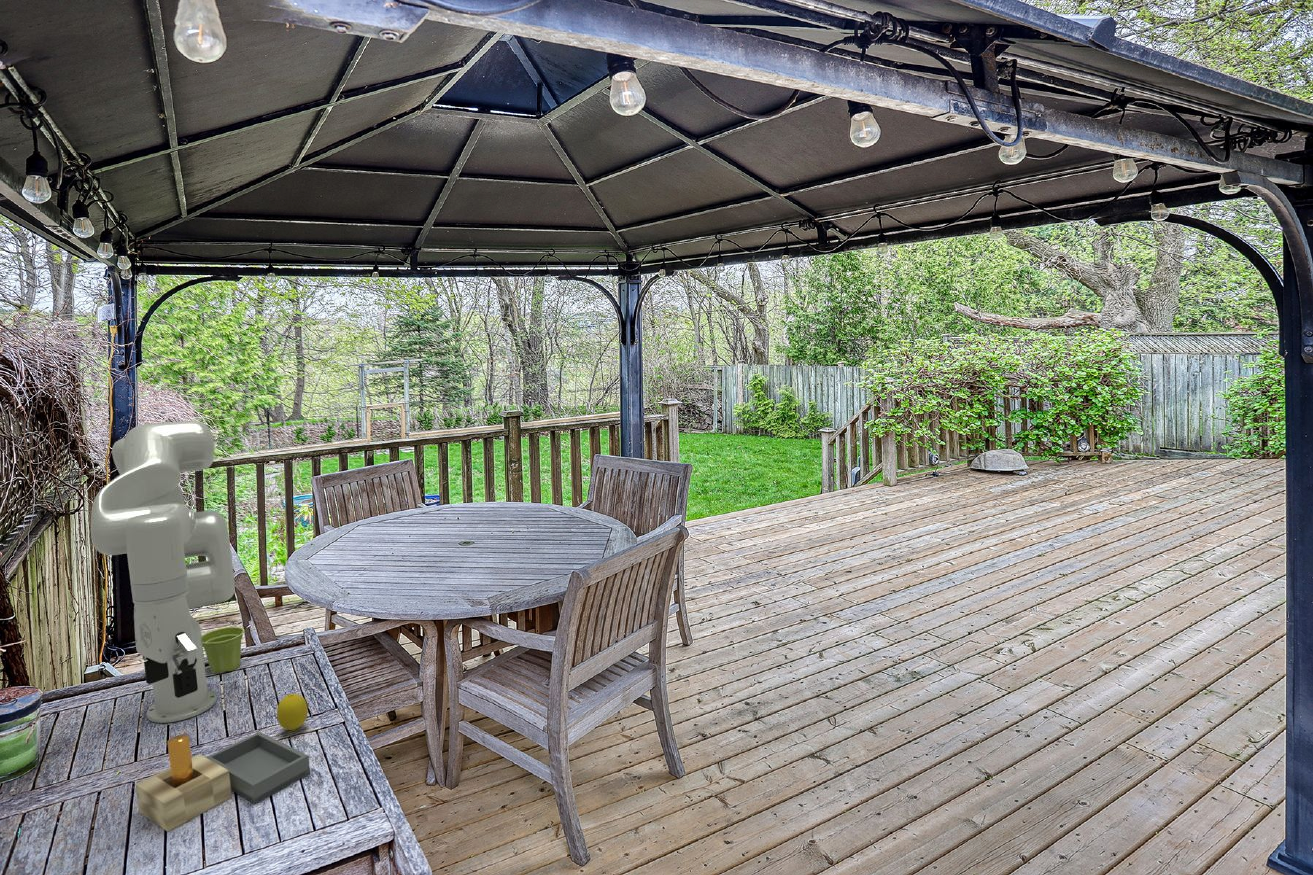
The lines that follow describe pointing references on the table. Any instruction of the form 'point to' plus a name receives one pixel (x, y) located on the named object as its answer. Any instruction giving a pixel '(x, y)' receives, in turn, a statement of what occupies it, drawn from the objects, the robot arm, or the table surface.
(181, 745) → the pin
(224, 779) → the pin block
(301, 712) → the lemon
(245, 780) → the tray
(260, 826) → the table surface
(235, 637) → the plant pot
